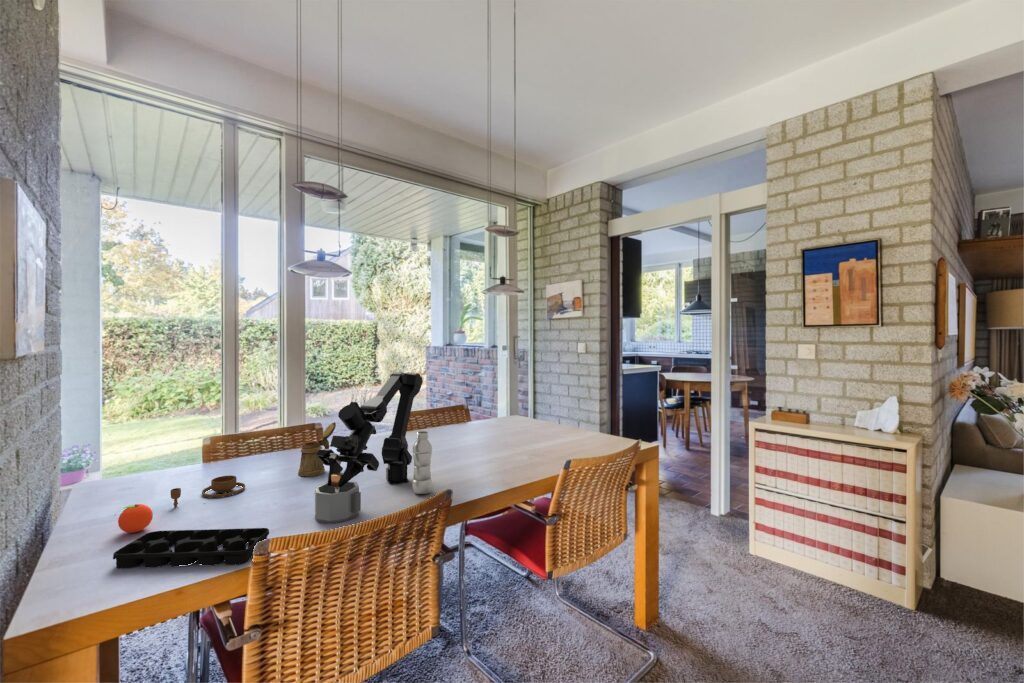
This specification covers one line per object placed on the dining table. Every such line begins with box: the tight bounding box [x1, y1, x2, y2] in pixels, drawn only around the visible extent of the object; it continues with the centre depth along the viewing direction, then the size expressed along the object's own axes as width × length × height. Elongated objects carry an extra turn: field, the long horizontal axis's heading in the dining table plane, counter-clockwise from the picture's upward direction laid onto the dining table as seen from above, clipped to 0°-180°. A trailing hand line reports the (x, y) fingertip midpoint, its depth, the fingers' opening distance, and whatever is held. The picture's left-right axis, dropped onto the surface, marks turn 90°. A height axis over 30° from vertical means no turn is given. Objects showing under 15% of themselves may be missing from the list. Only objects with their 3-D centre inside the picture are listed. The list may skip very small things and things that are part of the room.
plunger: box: [331, 472, 344, 493], centre depth 126 cm, size 8×8×10 cm
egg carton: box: [112, 527, 270, 569], centre depth 103 cm, size 18×30×4 cm, turn 107°
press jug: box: [314, 480, 362, 524], centre depth 126 cm, size 12×13×8 cm
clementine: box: [114, 503, 154, 534], centre depth 114 cm, size 8×7×7 cm
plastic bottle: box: [411, 430, 433, 495], centre depth 144 cm, size 6×7×20 cm
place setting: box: [170, 475, 246, 508], centre depth 141 cm, size 18×20×6 cm
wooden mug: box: [297, 421, 337, 478], centre depth 166 cm, size 9×14×18 cm, turn 134°
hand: (333, 486), depth 125 cm, fingers closed on plunger, 3 cm apart
